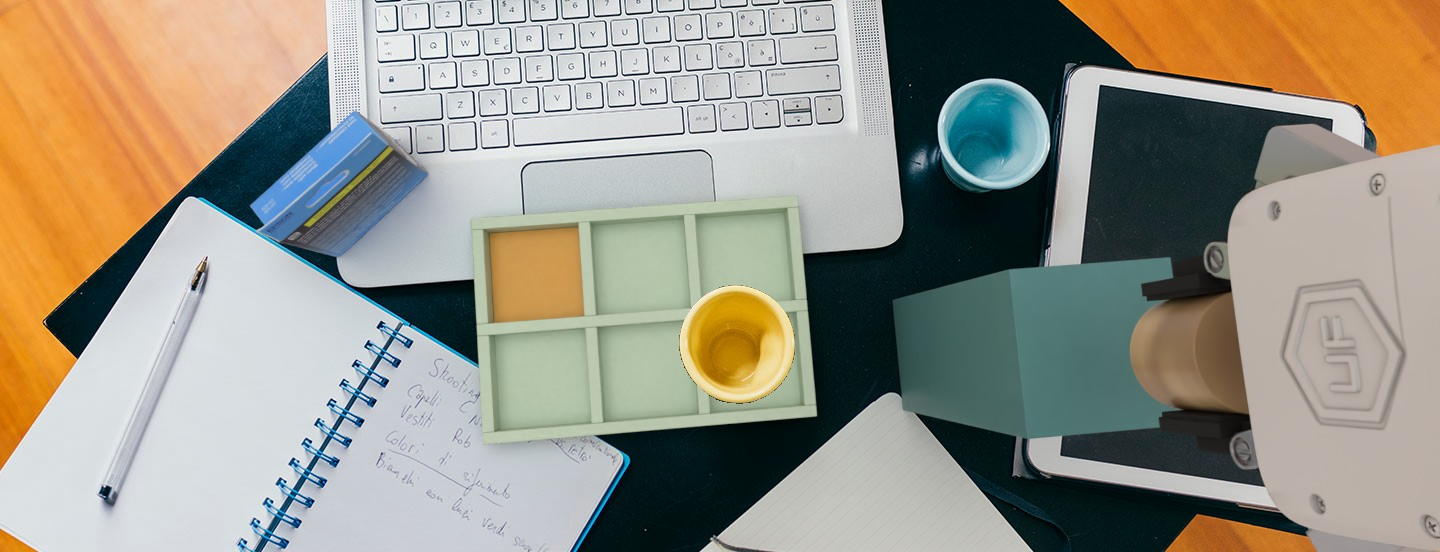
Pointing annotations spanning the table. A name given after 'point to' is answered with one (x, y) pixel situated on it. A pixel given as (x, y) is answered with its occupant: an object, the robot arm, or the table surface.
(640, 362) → the grid
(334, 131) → the label tape box
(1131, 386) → the plinth
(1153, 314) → the tan cylinder
